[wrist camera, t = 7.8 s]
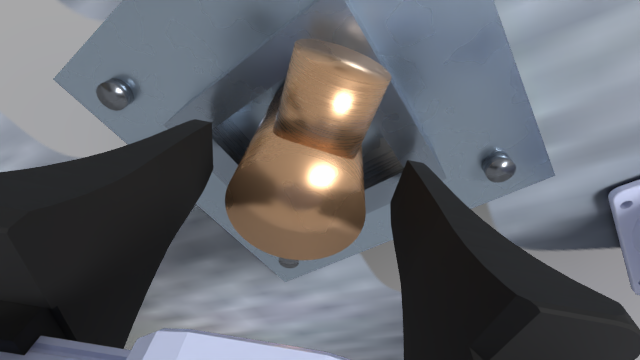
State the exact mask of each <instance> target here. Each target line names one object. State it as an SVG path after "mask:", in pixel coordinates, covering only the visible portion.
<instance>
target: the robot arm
mask: <svg viewBox="0 0 640 360" xmlns="http://www.w3.org/2000/svg"><path fill="white" fill-rule="evenodd" d="M212 171H213V141H212V122H207V121H202V120H197V119H194V120H190V121H187V122H185V123H182V124H180V125H177V126H175V127H172V128H170V129H168V130H165V131H163V132H160V133H158V134H155V135H153V136H150V137H148V138H145V139H142V140H140V141H137V142H134V143H131V144H129V145H126V146H123V147H120V148H117V149H114V150H111V151H107V152H104V153H101V154H97V155H93V156H89V157H85V158H81V159H77V160H72V161H67V162H62V163H57V164H52V165H47V166H42V167H36V168H29V169H23V170H15V171H8V172H0V360H351V359H348V358H344V357H341V356H338V355H335V354H332V353H328V352H325V351H319V350H313V349H307V348H301V347H295V346H289V345H283V344H277V343H271V342H265V341H259V340H253V339H247V338H241V337H235V336H229V335H223V334H217V333H211V332H205V331H199V330H193V329H168V328H163V329H161V330H158V331H156V332H153V333H151V334H148V335H146V336H143V337H141V338H138V339H137V341H136V342H135V344H134V346H133V348H132V350H126V349H124V346H125V344H126V341H127V338H128V336H129V333H130V331H131V328H132V326H133V323H134V321H135V319H136V316H137V314H138V312H139V309H140V307H141V305H142V302H143V300H144V298H145V295H146V293H147V291H148V289H149V287H150V285H151V282H152V280H153V278H154V276H155V274H156V271H157V269H158V267H159V265H160V263H161V261H162V259H163V257H164V255H165V253H166V251H167V249H168V247H169V245H170V243H171V242H172V240H173V238H174V237H175V235H176V233H177V232H178V230H179V229H180V227H181V226H182V224H183V223H184V221H185V219H186V218H187V216H188V215H189V213H190V212H191V210H192V209H193V207H194V205H195V204H196V202H197V201H198V199H199V198H200V196H201V194H202V193H203V191H204V189H205V187H206V185H207V183H208V181H209V178H210V176H211V173H212ZM608 199H609V203H610V207H611V210H612V214H613V218H614V222H615V226H616V230H617V234H618V238H619V242H620V246H621V249H622V253H623V257H624V261H625V265H626V269H627V273H628V277H629V281H630V285H631V288H632V290H633V291H634V292H635V293H636V294H637V295H640V179H639V180H636V181H633V182H631V183H628V184H625V185H622V186H619V187H617V188H615V189H613V190H612V191H611V192H610V194H609V195H608ZM390 214H391V228H392V235H393V240H394V246H395V252H396V257H397V263H398V269H399V274H400V281H401V292H402V308H403V333H404V360H635V359H636V358H637V357H638V356H639V355H640V329H639V328H638V326H637V325H636V324H635V322H634V321H633V320H632V319H631V317H630V316H629V314H628V313H627V312H626V310H625V309H624V308H623V307H622V305H621V304H619V303H618V302H616V301H614V300H612V299H610V298H608V297H606V296H604V295H602V294H600V293H598V292H596V291H594V290H592V289H590V288H588V287H586V286H584V285H582V284H580V283H578V282H576V281H574V280H572V279H570V278H569V277H567V276H565V275H564V274H562V273H560V272H558V271H557V270H555V269H553V268H551V267H550V266H548V265H546V264H545V263H543V262H541V261H540V260H538V259H536V258H535V257H533V256H532V255H530V254H528V253H527V252H526V251H524V250H523V249H521V248H520V247H518V246H517V245H515V244H514V243H512V242H511V241H509V240H508V239H507V238H505V237H504V236H502V235H501V234H500V233H499V232H497V231H496V230H495V229H493V228H492V227H491V226H490V225H488V224H487V223H486V222H484V221H483V220H482V219H481V218H480V217H479V216H478V215H476V214H475V213H474V212H473V211H472V210H471V209H470V208H469V207H468V206H466V205H465V204H464V203H463V202H462V201H461V200H460V199H459V198H458V197H457V196H456V195H455V194H454V193H453V192H452V191H451V190H450V189H449V188H448V187H447V186H446V185H445V184H444V183H443V182H442V181H441V179H440V178H439V177H438V176H437V175H436V174H435V173H434V172H433V171H432V170H431V169H430V168H429V167H428V166H427V165H425V164H424V163H421V162H416V161H411V160H407V162H406V164H405V167H404V169H403V172H402V174H401V177H400V179H399V182H398V184H397V187H396V189H395V192H394V194H393V197H392V199H391V202H390Z"/></svg>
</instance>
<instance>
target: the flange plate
mask: <svg viewBox="0 0 640 360" xmlns="http://www.w3.org/2000/svg"><path fill="white" fill-rule="evenodd" d="M299 39H317V40H322V41H327V42H331V43H334V44H338V45H341V46H344V47H347V48H349V49H352V50H354V51H357V52H359V53H361V54H363V55H365V56H367V57H369V58H371V59H373V60H374V61H376V62H377V63H379V64H380V65H382V66H383V67H384V68H385V69H387V70H388V72H389V73H390V75H391V81H390V83H389V85H388V87H387V89H386V92H385V94H384V96H383V98H382V100H381V103H380V105H379V107H378V109H377V111H376V114H375V116H374V118H373V120H372V122H371V125H370V127H369V129H368V131H367V133H366V135H365V138H364V140H363V142H362V158H363V175H364V191H365V207H366V216H365V222H364V226H363V228H362V231H361V233H360V234H359V236H358V237H357V238H356V240H355V241H354V242H353V243H352V244H351V245H349V246H348V247H347V248H345V249H344V250H342V251H341V252H338V253H336V254H334V255H331V256H329V257H325V258H321V259H315V260H291V259H285V258H281V257H277V256H274V255H271V254H268V253H266V252H263V251H262V250H260V249H258V248H256V247H254V246H253V245H251V244H250V243H249V242H247V241H246V240H245V239H244V238H243V237H242V236H241V235H240V234H239V233H238V232H237V231H236V230H235V228H234V227H233V225H232V224H231V222H230V220H229V218H228V215H227V212H226V208H225V194H226V190H227V187H228V184H229V182H230V180H231V178H232V176H233V174H234V173H235V171H236V169H237V167H238V165H239V163H240V161H241V159H242V157H243V155H244V153H245V151H246V149H247V147H248V146H249V144H250V142H251V140H252V138H253V136H254V134H255V132H256V130H257V128H258V126H259V124H260V122H261V121H262V119H263V117H264V115H265V113H266V111H267V109H268V107H269V105H270V103H271V101H272V99H273V97H274V96H275V94H276V93H277V92H278V90H279V89H280V88H281V87H282V86H284V83H285V79H286V75H287V72H288V68H289V64H290V60H291V56H292V52H293V48H294V44H295V42H296V41H297V40H299ZM53 80H55V81H56V82H57V83H58V84H59V85H60V86H61V87H63V88H64V89H65V90H66V91H67V92H68V93H69V94H71V95H72V96H73V97H74V98H75V99H76V100H78V101H79V102H80V103H81V104H82V105H83V106H84V107H86V108H87V109H88V110H89V111H90V112H91V113H92V114H93V115H95V116H96V117H97V118H98V119H99V120H100V121H101V122H103V123H104V124H105V125H106V126H107V127H108V128H109V129H111V130H112V131H113V132H114V133H115V134H116V135H117V136H119V137H120V138H121V139H122V140H123V141H124V142H126V143H127V144H128V145H129V144H131V143H134V142H137V141H140V140H142V139H145V138H148V137H150V136H153V135H155V134H158V133H160V132H163V131H165V130H168V129H170V128H172V127H175V126H177V125H180V124H182V123H185V122H187V121H190V120H194V119H197V120H202V121H207V122H212V141H213V171H212V173H211V176H210V178H209V181H208V183H207V185H206V187H205V189H204V191H203V193H202V194H201V196H200V198H199V199H198V201H197V202H196V205H198V206H199V207H200V208H201V209H202V210H203V211H204V212H206V213H207V214H208V215H209V216H210V217H211V218H212V219H214V220H215V221H216V222H217V223H218V224H219V225H220V226H222V227H223V228H224V229H225V230H226V231H227V232H228V233H230V234H231V235H232V236H233V237H234V238H235V239H236V240H238V241H239V242H240V243H241V244H242V245H243V246H245V247H246V248H247V249H248V250H249V251H250V252H251V253H253V254H254V255H255V256H256V257H257V258H258V259H259V260H261V261H262V262H263V263H264V264H265V265H266V266H267V267H269V268H270V269H271V270H272V271H273V272H274V273H275V274H277V275H278V276H279V277H280V278H281V279H282V280H283V281H285V282H287V281H289V280H292V279H294V278H297V277H299V276H302V275H305V274H307V273H310V272H312V271H315V270H317V269H320V268H322V267H325V266H327V265H330V264H332V263H335V262H337V261H340V260H342V259H345V258H348V257H350V256H353V255H355V254H358V253H360V252H363V251H365V250H368V249H370V248H373V247H375V246H378V245H380V244H383V243H385V242H388V241H390V240H393V235H392V228H391V214H390V202H391V199H392V197H393V194H394V192H395V189H396V187H397V184H398V182H399V179H400V177H401V174H402V172H403V169H404V167H405V164H406V162H407V160H411V161H416V162H421V163H424V164H425V165H427V166H428V167H429V168H430V169H431V170H432V171H433V172H434V173H435V174H436V175H437V176H438V177H439V178H440V179H441V181H442V182H443V183H444V184H445V185H446V186H447V187H448V188H449V189H450V190H451V191H452V192H453V193H454V194H455V195H456V196H457V197H458V198H459V199H460V200H461V201H462V202H463V203H464V204H465V205H466V206H468V207H469V208H470V209H471V208H474V207H476V206H479V205H482V204H484V203H487V202H489V201H492V200H494V199H497V198H499V197H502V196H504V195H507V194H510V193H512V192H515V191H517V190H520V189H522V188H525V187H527V186H530V185H532V184H535V183H537V182H540V181H542V180H545V179H547V178H550V177H553V176H555V174H554V171H553V168H552V165H551V162H550V159H549V157H548V154H547V151H546V148H545V145H544V142H543V140H542V137H541V134H540V131H539V128H538V125H537V123H536V120H535V117H534V114H533V111H532V108H531V105H530V103H529V100H528V97H527V94H526V91H525V88H524V86H523V83H522V80H521V77H520V74H519V71H518V69H517V66H516V63H515V60H514V57H513V54H512V52H511V49H510V46H509V43H508V40H507V37H506V34H505V32H504V29H503V26H502V23H501V20H500V17H499V15H498V12H497V9H496V6H495V3H494V0H123V1H122V2H121V3H120V4H119V5H118V7H117V8H116V9H115V10H114V11H113V12H112V13H111V14H110V16H109V17H108V18H107V19H106V20H105V21H104V22H103V24H102V25H101V26H100V27H99V28H98V29H97V30H96V31H95V33H94V34H93V35H92V36H91V37H90V38H89V39H88V40H87V42H86V43H85V44H84V45H83V46H82V47H81V48H80V49H79V51H78V52H77V53H76V54H75V55H74V56H73V57H72V59H71V60H70V61H69V62H68V63H67V64H66V66H64V68H63V69H62V70H61V71H60V72H59V73H58V74H57V75H56V77H55V78H54V79H53Z"/></svg>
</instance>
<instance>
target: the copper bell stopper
mask: <svg viewBox="0 0 640 360" xmlns="http://www.w3.org/2000/svg"><path fill="white" fill-rule="evenodd" d="M390 81H391V75H390V73H389V72H388V70H387V69H385V68H384V67H383V66H382V65H380V64H379V63H377V62H376V61H374V60H373V59H371V58H369V57H367V56H365V55H363V54H361V53H359V52H357V51H354V50H352V49H349V48H347V47H344V46H341V45H338V44H334V43H331V42H327V41H322V40H317V39H299V40H297V41H296V42H295V44H294V48H293V52H292V56H291V60H290V64H289V68H288V72H287V75H286V79H285V83H284V86H282V87H281V88H280V89H279V90H278V92H277V93H276V94H275V96H274V97H273V99H272V101H271V103H270V105H269V107H268V109H267V111H266V113H265V115H264V117H263V119H262V121H261V122H260V124H259V126H258V128H257V130H256V132H255V134H254V136H253V138H252V140H251V142H250V144H249V146H248V147H247V149H246V151H245V153H244V155H243V157H242V159H241V161H240V163H239V165H238V167H237V169H236V171H235V173H234V174H233V176H232V178H231V180H230V182H229V184H228V187H227V190H226V194H225V208H226V212H227V215H228V218H229V220H230V222H231V224H232V225H233V227H234V228H235V230H236V231H237V232H238V233H239V234H240V235H241V236H242V237H243V238H244V239H245V240H246V241H247V242H249V243H250V244H251V245H253V246H254V247H256V248H258V249H260V250H262V251H263V252H266V253H268V254H271V255H274V256H277V257H281V258H285V259H291V260H315V259H321V258H325V257H329V256H331V255H334V254H336V253H338V252H341V251H342V250H344V249H345V248H347V247H348V246H349V245H351V244H352V243H353V242H354V241H355V240H356V238H357V237H358V236H359V234H360V233H361V231H362V228H363V226H364V222H365V216H366V207H365V191H364V175H363V158H362V142H363V140H364V138H365V135H366V133H367V131H368V129H369V127H370V125H371V122H372V120H373V118H374V116H375V114H376V111H377V109H378V107H379V105H380V103H381V100H382V98H383V96H384V94H385V92H386V89H387V87H388V85H389V83H390Z"/></svg>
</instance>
